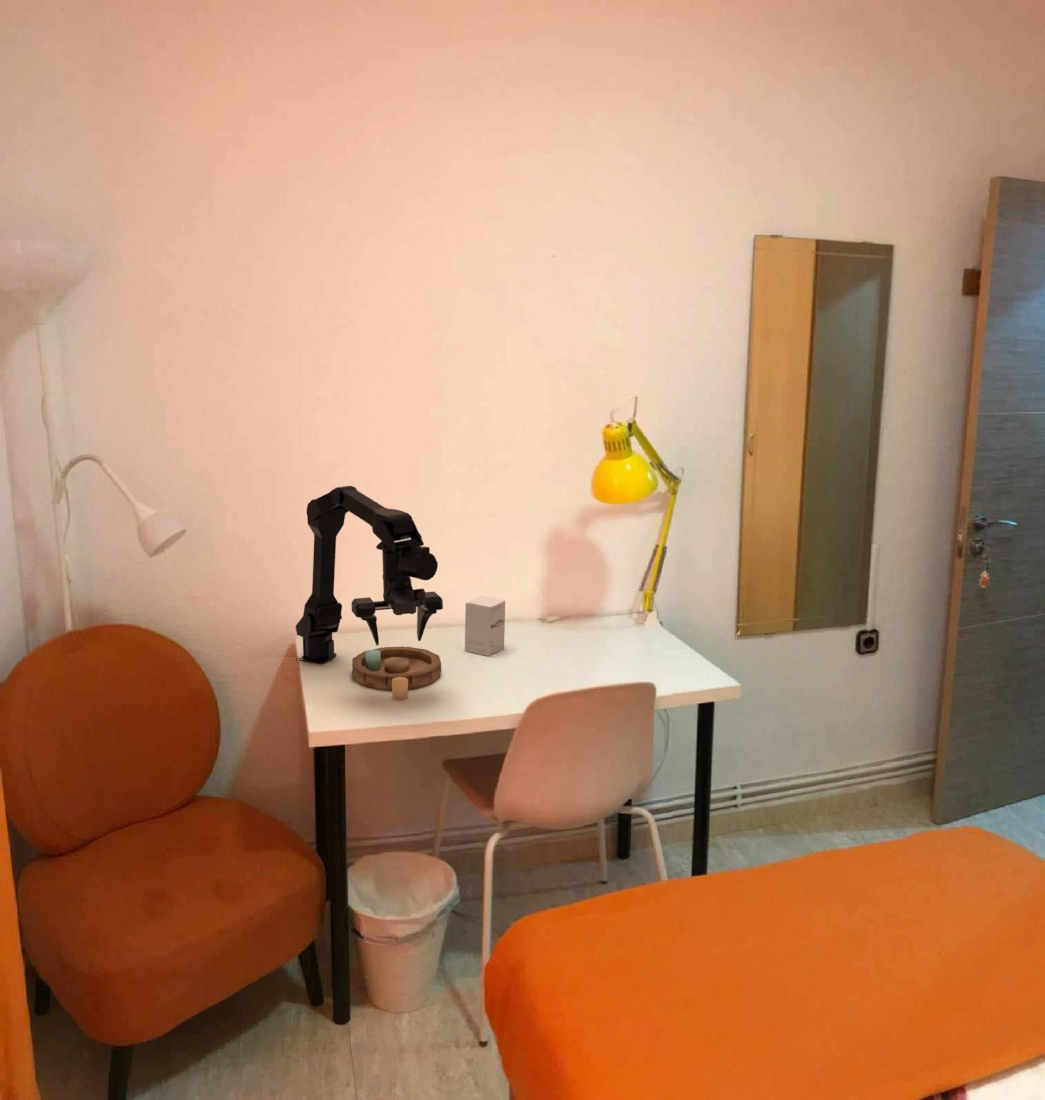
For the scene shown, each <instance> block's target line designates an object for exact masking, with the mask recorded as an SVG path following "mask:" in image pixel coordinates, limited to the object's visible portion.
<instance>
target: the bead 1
mask: <svg viewBox="0 0 1045 1100" xmlns="http://www.w3.org/2000/svg"><path fill="white" fill-rule="evenodd" d="M364 652H365V651H364ZM365 655H366V668H367V669H368V670H370V671H378V670H380V669H381V652H380V651H379V650H373V649H369V650H366V652H365Z"/></svg>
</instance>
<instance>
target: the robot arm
mask: <svg viewBox="0 0 1045 1100" xmlns="http://www.w3.org/2000/svg"><path fill="white" fill-rule="evenodd" d="M357 489H358V488H356V486H352V485H346V486H345V485H343V486H338V487H334V488H333V489H331V491H329V492H328V493H325V494H323V495H321V496H319V497H317V498H314V499H311V500H310V501H309V502H308V503H307V507H306V517H307V519H306V520H307V525H308V527H309V528H310V530H311V532H312V533H313V555H312V556H313V558H312V560H313V562H312V584H311V586H312V587H311V588H312V589H311V594H310V596H309V597H308V599H307V600H306V602H305V604H304V607H303V614H302V617H301V618H300V619H299V621H298V622H297V624H296V625H295V631H296V635H297V636H300V637H301V638H302V656H301V657H302V658H300V657H299V660H300V659H303V660H305V661H304V662H310V663H317V664H325V663H326V662H328V661H330V660H332V659H333V658H335V657H336V656H337V653H335V640H334V639H333V633H338V632H339V627H340V623H341V620H342V619H343V617H342V611H343V605H342V603H341V602H339V601H338V600H337V598H336V596H335V575H336V568H335V567H336V552H337V536H338V534H339V533H340V532H341V530H342V528H343V527H344V525H345V519H346V514H347V513H348V512H349V513H351V514H352V515H354V516H356V517H357V518H359V519H360V520H362V521H363V522H365V523H366V524H368V525H369V526H370V527H371V528H372V533H373V534H374V536H376V537H377V538H378V540H380V542H379V543H378V544H377V545H376V549H377V550H380V551H381V552H382V553H381V554H382V555H381V556H382V582H383V583H382V584H383V586H382V587H383V589H382V590H383V591H382V592H383V594H382V598H383V600H378V601H374V600H373V599H372V598H371V597H360V598H359V597H358V598H357V597H356V598H353V600H352V601H351V612H352V613H353V615H354V616H355V617H356V618H359V619H361V620H362V621H365V622H366V623H367V625H368V628H369V630H370V632H371V636H372V637H373V640H374V643H375V645H376V646H377V647H379V643H380V639H379V632H378V631H379V630H378V624H377V623H378V622H377V619H378V618H377V616H376V611H383V610H385V611H386V610H392V612H393V615H396V616H402V615H409V614H410V615H415V614H416V636H417V641H418V642H421V641H422V637H423V635H424V632H425V629H426V626H427V623H428V622H429V619H430V618H431V617H432V616H433V615H435V614H437V613H438V611H440V610H441V611H442V610H443V609H444V602H443V598H442V597H441V596H440V595H439V594H438V593H437V592H436V591H425V588H415V589H414V588H413V585H412V579H411V578H413V579H418V580H421V581H429V580H431V579H432V578H433V577H434V576H435V575H436V574H437V570H438V566H439V565H438V564H439V563H438V561H437V557H435V555H434V554H433V553H430V547H429V546H424V545H425V543H424V540H423V537H422V535H421V534H420V533H421V532H419V529H418V528H417V526H416V523H415V521H414V520H413V517H412V515H410V513H408V512H406V511H403V510H401V509H395V508H388V507H385V506H383V505H382V504H380V503H378V502H377V501H375V500H374V499H372V498H370V497H368V496H366V494H363V493H362V492H361V491H359V490H357ZM303 660H302V661H303Z"/></svg>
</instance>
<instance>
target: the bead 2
mask: <svg viewBox="0 0 1045 1100" xmlns="http://www.w3.org/2000/svg"><path fill="white" fill-rule="evenodd" d="M391 692H392V693H391V699H393V700H395V701H404V700H405V701H406V700H407V699H408V698H409V690H408V679H407V678H404V677H396V678H393V679H392V690H391Z"/></svg>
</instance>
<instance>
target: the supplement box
mask: <svg viewBox="0 0 1045 1100" xmlns="http://www.w3.org/2000/svg"><path fill="white" fill-rule="evenodd" d="M464 615H465V616H464V617H465V618H464V619H465V621H464V623H465V624H464V626H465V627H464V629H465V630H464V651H466V652H468V651H469V653H472V652H473V654H476V653H477V654H478V655H481V654H482V655H481V656H486V657H489V656H491V655H492V654H494V653H495V654H496V653H497V652H499V651H501V650H504V649H505V634H506V633H505V631H506V630H505V627H506V625H505V622H506V600H503V599H498V598H493V597H487V596H479V597H477V598H475V599H474V598H473V599H472V600H469V601H467V602H465V614H464ZM477 654H476V655H477Z"/></svg>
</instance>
